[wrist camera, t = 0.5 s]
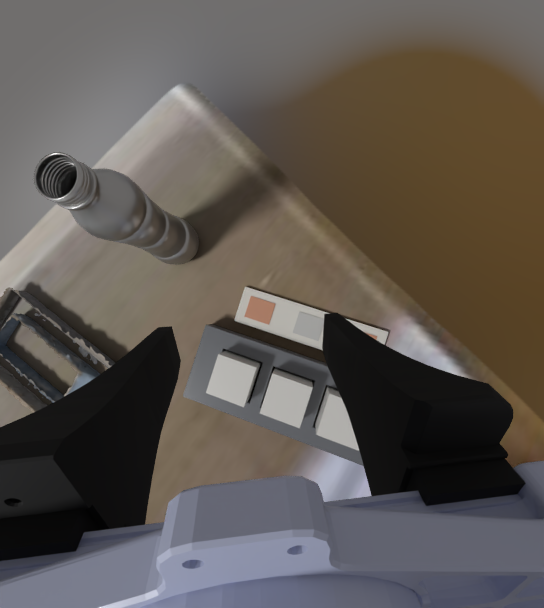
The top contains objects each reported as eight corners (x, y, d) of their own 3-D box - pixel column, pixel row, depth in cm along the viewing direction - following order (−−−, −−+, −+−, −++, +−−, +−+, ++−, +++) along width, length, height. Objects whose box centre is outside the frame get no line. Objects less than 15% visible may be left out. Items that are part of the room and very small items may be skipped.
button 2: (261, 362, 36) (256, 367, 32) (249, 398, 36) (243, 407, 32) (226, 350, 36) (218, 354, 33) (215, 385, 36) (205, 392, 33)
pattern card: (387, 331, 35) (388, 332, 35) (376, 368, 35) (377, 368, 35) (245, 286, 38) (245, 286, 37) (235, 320, 38) (234, 320, 38)
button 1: (365, 399, 34) (372, 408, 31) (353, 436, 34) (358, 450, 31) (327, 385, 35) (329, 393, 31) (315, 422, 35) (316, 434, 31)
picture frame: (97, 447, 40) (81, 457, 38) (-19, 352, 43) (-42, 355, 40) (145, 374, 40) (132, 378, 37) (24, 283, 43) (4, 280, 40)
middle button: (312, 380, 35) (312, 387, 31) (300, 417, 35) (299, 428, 31) (275, 367, 36) (272, 373, 32) (263, 403, 36) (259, 413, 32)
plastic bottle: (196, 273, 39) (83, 230, 19) (154, 260, 40) (4, 206, 20) (209, 230, 39) (110, 143, 19) (167, 218, 40) (30, 123, 20)
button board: (395, 386, 35) (402, 392, 33) (371, 459, 35) (376, 470, 33) (212, 324, 38) (205, 324, 36) (190, 391, 38) (182, 396, 36)
